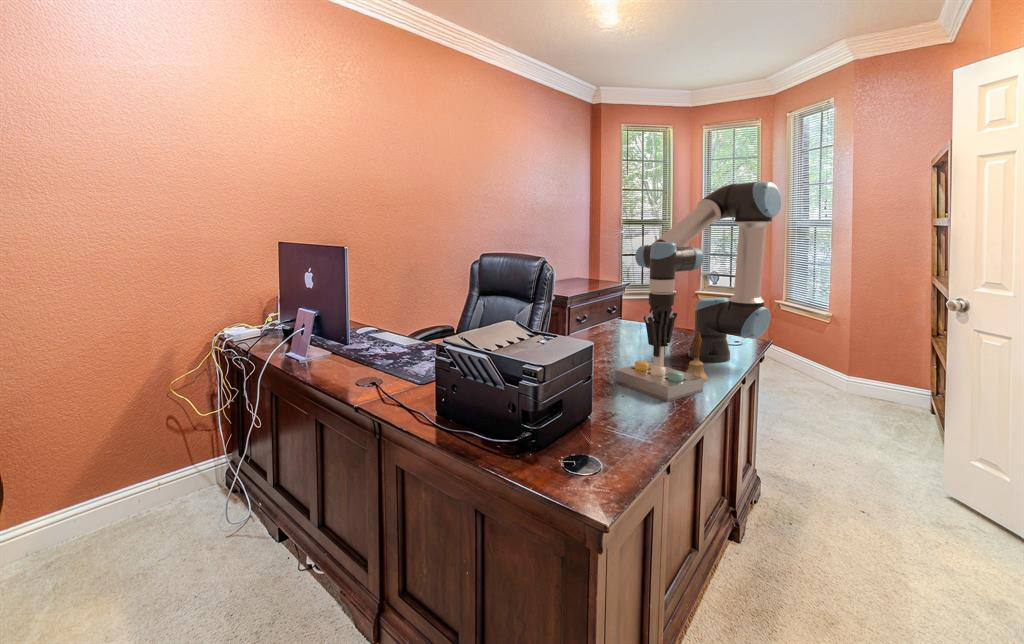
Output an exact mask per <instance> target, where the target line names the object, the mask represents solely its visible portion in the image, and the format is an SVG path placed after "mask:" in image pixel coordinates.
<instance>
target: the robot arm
mask: <svg viewBox="0 0 1024 644" xmlns="http://www.w3.org/2000/svg"><path fill="white" fill-rule="evenodd" d="M781 208H782V196H781V192H780V190H779V189H778V187H777V185H775V184H774V183H773V182H770V181H756V182H755V181H754V182H744V183H731V184H727V185H725V186H721V187H719V188H717V189H716V190H713V191H712V192H711V193H709V194H708V195H706V196H705V197H704V198H702V199H701V200H700V201H699V202H698V203H697V205H696V207H695V209H693V210H692V211H691V212H689V214H687V215H686V216H685V217H683V218H682V219H681V220H680V221H679V222H677V223H676V224H675V225H673V226H672V227H671V228H670V229H669V230H668V231H666V232H665V233H663V235H661V236H660V237H659V238H657V239H656V240H655V241H654V242H652V244H650V245H649V244H646V245H641V246H639V247H638V248H637V249H636V251H635V257H634V258H635V259H634V260H635V262H636V264H637V265H638V266H639V267H641V268H646V269H649V282H648V283H649V284H648V285H649V287H648V288H649V289H648V290H649V292H650V293H649V294H648V304H649V306H650V309H649V314H648V315H644V316H643V321H644V323H645V327H646V335H647V341H648V345H649V346H652V347H653V352H652V355H653V363H654V366H657V367H665V366H664V365H665V364H664V361H665V355H666V347H668V346H669V344H671V340H672V336H673V330H674V326H675V321H676V318H677V317H678V313H677V312H674V311H673V308H672V306H674V304H675V294H674V292H675V291H676V290H675V287H676V286H675V285H676V273H677V272H678V273H679V272H691V271H694V270H698V269H699V268H701V267H702V265H703V263H704V253H703V251H702V250H701V249H700V248H699V247H696V246H688V245H687V244H688V243H689V242H691V241H692V240H693V239H694V238H695V237H697V236H698V235H699V234H700V233H702V231H704V230H705V229H706V228H707V227H708V226H710V225H711V224H713V225H714V224H716V223H717V222H719V221H720V220H723V219H727V218H734V223H735V224H736V226H737V227H738V238H737V250H736V265H735V274H734V275H735V276H734V287H733V288H734V289H733V295H732V296H731V297H729V298H728V297H710V298H709V297H708V298H701V299H698V300H697V301H696V303H695V310H694V314H695V315H694V333H693V334H694V335H693V336H695V333H696V332H700V336H701V347H700V350H699V361H700V362H708V363H722V362H727V361H730V360H731V351H730V347H729V343H728V340H727V335H730V336H734V337H739V338H742V339H749V340H750V339H751V340H755V339H759V338H761V337H762V336H764V334H765V332H766V331H768V328H769V327H770V326H769V325H770V322H771V318H772V317H771V316H772V315H771V311H770V310H769V308H767V307H765V300H764V299H763V297H761V290H762V281H763V280H762V279H763V268H764V267H763V266H764V257H765V246H766V236H767V235H766V233H767V227H768V226H770V225H771V224H772V221H773V218H774V217H776V216H777V215H778V214H779V213H780V210H781ZM686 245H687V246H686ZM693 339H694V337H692V341H691V344H690V347H689V348H688V357H689V358H691V359H693V360H694V346H693Z"/></svg>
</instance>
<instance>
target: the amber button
mask: <svg viewBox="0 0 1024 644" xmlns="http://www.w3.org/2000/svg"><path fill="white" fill-rule="evenodd" d="M648 362H649V361H645V360H636V361H634V365H633V366H634V370H637V371H641V372H644V371H648V370H649V363H648Z"/></svg>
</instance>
